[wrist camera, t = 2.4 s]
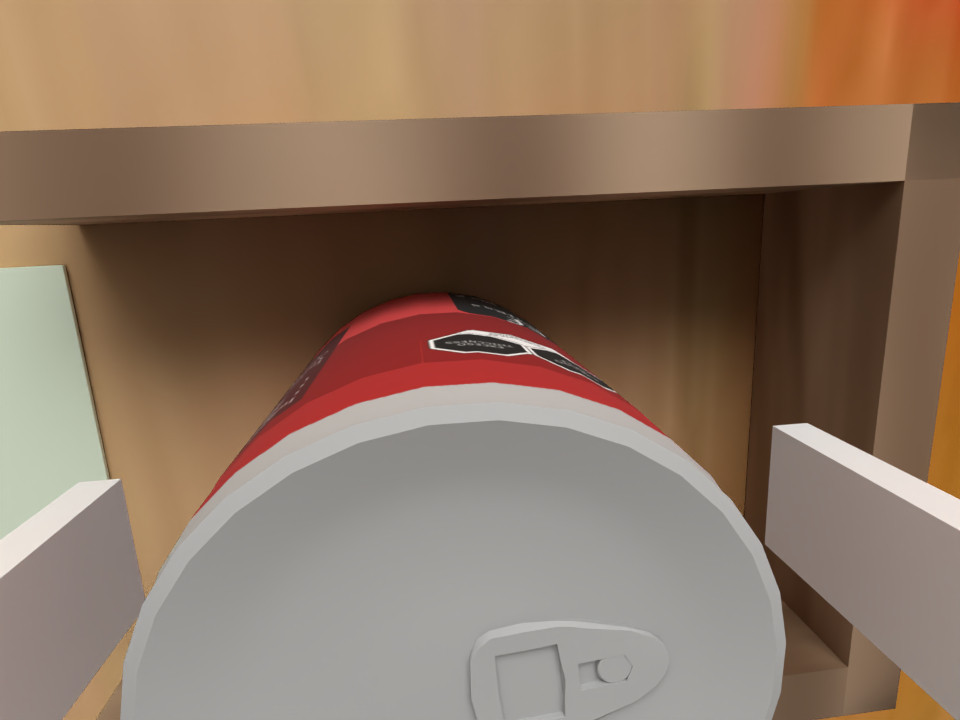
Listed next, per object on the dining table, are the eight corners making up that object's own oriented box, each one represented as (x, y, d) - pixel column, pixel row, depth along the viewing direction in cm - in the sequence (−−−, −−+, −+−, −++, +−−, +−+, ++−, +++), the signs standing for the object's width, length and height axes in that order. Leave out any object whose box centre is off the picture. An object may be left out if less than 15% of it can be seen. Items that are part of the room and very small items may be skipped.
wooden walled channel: (165, 665, 18) (76, 823, 13) (65, 164, 15) (-104, 135, 10) (779, 593, 20) (895, 708, 15) (817, 137, 17) (980, 101, 12)
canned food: (600, 468, 18) (857, 798, 8) (370, 571, 18) (310, 1048, 8) (510, 242, 17) (687, 271, 6) (252, 355, 16) (-43, 593, 6)
